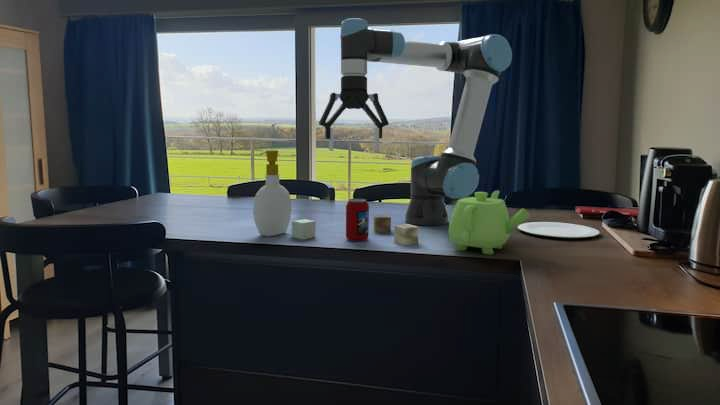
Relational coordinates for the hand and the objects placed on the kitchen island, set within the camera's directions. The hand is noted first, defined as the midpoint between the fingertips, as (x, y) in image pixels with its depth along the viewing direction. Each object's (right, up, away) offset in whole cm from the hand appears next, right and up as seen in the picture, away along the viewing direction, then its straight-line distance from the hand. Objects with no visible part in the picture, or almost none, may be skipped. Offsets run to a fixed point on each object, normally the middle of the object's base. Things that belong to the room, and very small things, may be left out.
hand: (354, 150), depth 157 cm
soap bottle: (-26, -25, +10) cm, 37 cm away
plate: (+66, -25, +17) cm, 72 cm away
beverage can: (+1, -26, +3) cm, 27 cm away
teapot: (+38, -28, -6) cm, 48 cm away
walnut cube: (+9, -24, +17) cm, 31 cm away
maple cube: (+15, -27, 0) cm, 31 cm away
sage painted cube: (-15, -26, +6) cm, 31 cm away
